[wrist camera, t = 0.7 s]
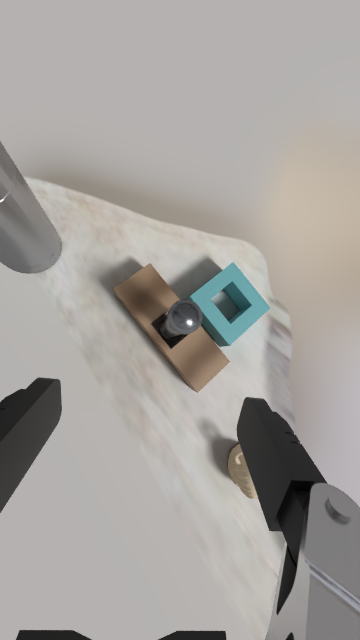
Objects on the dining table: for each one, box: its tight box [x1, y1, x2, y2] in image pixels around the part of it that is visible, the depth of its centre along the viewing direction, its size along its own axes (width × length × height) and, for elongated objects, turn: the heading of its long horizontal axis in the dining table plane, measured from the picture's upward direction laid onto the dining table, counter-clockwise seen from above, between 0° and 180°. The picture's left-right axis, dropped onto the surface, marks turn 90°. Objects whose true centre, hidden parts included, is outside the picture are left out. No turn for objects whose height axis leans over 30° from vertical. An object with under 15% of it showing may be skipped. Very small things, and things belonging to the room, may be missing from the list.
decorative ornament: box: [228, 444, 258, 499], centre depth 32 cm, size 4×8×5 cm, turn 16°
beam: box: [113, 264, 230, 393], centre depth 35 cm, size 20×7×4 cm, turn 40°
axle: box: [160, 299, 203, 338], centre depth 30 cm, size 4×4×12 cm
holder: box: [188, 262, 270, 347], centre depth 37 cm, size 10×10×4 cm
